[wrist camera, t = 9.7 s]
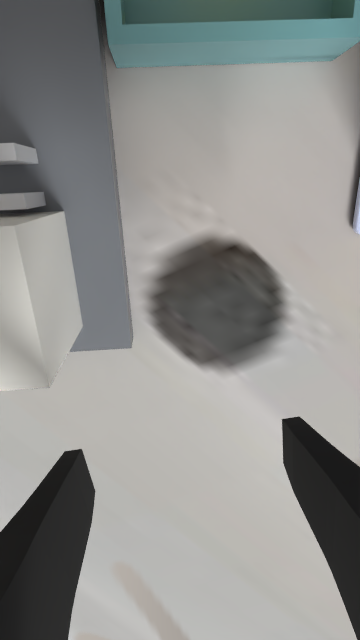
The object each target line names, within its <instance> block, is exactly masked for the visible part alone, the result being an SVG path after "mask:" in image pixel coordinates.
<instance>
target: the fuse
mask: <svg viewBox="0 0 360 640" xmlns="http://www.w3.org/2000/svg"><path fill="white" fill-rule="evenodd" d="M82 327H83V324H82V318H81V312H80V306H79V300H78V293H77V287H76V281H75V275H74V269H73V263H72V256H71V250H70V244H69V238H68V232H67V226H66V219H65V213H64V211H55V212H34V213H13V214H0V391H7V390H22V389H38V388H50V386H51V384H52V383H53V381H54V379H55V377H56V375H57V373H58V371H59V370H60V368H61V366H62V364H63V362H64V360H65V358H66V357H67V355H68V353H69V351H70V349H71V347H72V345H73V344H74V342H75V340H76V338H77V336H78V334H79V332H80V331H81V329H82Z"/></svg>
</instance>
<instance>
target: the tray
mask: <svg viewBox="0 0 360 640" xmlns="http://www.w3.org/2000/svg"><path fill="white" fill-rule="evenodd" d="M104 7H105V17H106V28H107V38H108V46H109V48H110V51H111V54H112V56H113V59H114V62H115V64H116V67H117V68H127V67H158V66H189V65H220V64H250V63H281V62H312V61H333V60H334V59H335V58H337V57H338V56H340V55H341V54H342V53H344V52H345V51H347V50H348V49H350V48H351V47H352V46H354V45H355V44H357V43H358V42H359V41H360V0H104Z"/></svg>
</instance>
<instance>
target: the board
mask: <svg viewBox="0 0 360 640" xmlns="http://www.w3.org/2000/svg"><path fill="white" fill-rule="evenodd" d="M55 211H64V213H65V219H66V226H67V232H68V238H69V244H70V250H71V256H72V263H73V269H74V275H75V281H76V287H77V293H78V300H79V306H80V312H81V318H82V324H83V327H82V329H81V331H80V332H79V334H78V336H77V338H76V340H75V342H74V344H73V345H72V347H71V349H70V351H69V352H75V351H91V350H107V349H124V348H132V342H133V329H132V319H131V309H130V299H129V290H128V280H127V270H126V260H125V251H124V241H123V231H122V221H121V211H120V202H119V192H118V182H117V172H116V163H115V153H114V143H113V133H112V124H111V114H110V104H109V94H108V85H107V75H106V65H105V55H104V45H103V36H102V26H101V16H100V6H99V0H0V214H13V213H34V212H55Z"/></svg>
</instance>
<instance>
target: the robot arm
mask: <svg viewBox="0 0 360 640" xmlns="http://www.w3.org/2000/svg"><path fill="white" fill-rule="evenodd" d="M353 230H354V232H356V233H357V234H360V179H359V186H358V192H357V199H356V206H355V213H354V220H353ZM282 430H283V463H284V466H285V469H286V472H287V475H288V478H289V480H290V483H291V486H292V489H293V491H294V494H295V496H296V498H297V500H298V502H299V504H300V506H301V508H302V510H303V512H304V514H305V517H306V519H307V521H308V523H309V525H310V527H311V529H312V531H313V533H314V535H315V537H316V539H317V541H318V543H319V545H320V547H321V549H322V551H323V554H324V556H325V558H326V560H327V562H328V565H329V567H330V569H331V571H332V574H333V576H334V579H335V581H336V584H337V587H338V589H339V592H340V594H341V597H342V600H343V602H344V605H345V607H346V610H347V613H348V615H349V618H350V621H351V623H352V626H353V629H354V632H355V634H356V637H357V640H360V467H359V466H358V465H356V464H355V463H354V462H352V461H351V460H350V459H349V458H347V457H346V456H345V455H344V454H342V453H341V452H340V451H339V450H337V449H336V448H335V447H334V446H333V445H331V444H330V443H329V442H328V441H327V440H326V439H324V438H323V437H322V436H321V435H320V434H319V433H317V432H316V431H315V430H314V429H313V428H312V427H311V426H310V425H308V424H307V423H306V422H305V421H304V420H303V419H302V418H300V417H294V418H287V419H282ZM94 497H95V489H94V486H93V483H92V480H91V476H90V473H89V470H88V467H87V464H86V461H85V458H84V455H83V451H82V449H78V450H72V451H65V452H64V453H63V455H62V456H61V457H60V458H59V460H58V461H57V462H56V464H55V465H54V466H53V468H52V469H51V470H50V472H49V473H48V474H47V476H46V477H45V478H44V479H43V481H42V482H41V483H40V485H39V486H38V487H37V489H36V490H35V491H34V492H33V494H32V495H31V496H30V497H29V499H28V500H27V501H26V503H25V504H24V505H23V506H22V507H21V509H20V510H19V511H18V512H17V513H16V515H15V516H14V517H13V518H12V519H11V520H10V522H9V523H8V524H7V525H6V526H5V528H4V529H3V530H2V531H1V532H0V640H68V635H69V628H70V621H71V614H72V608H73V603H74V598H75V593H76V588H77V584H78V580H79V575H80V571H81V567H82V562H83V558H84V554H85V550H86V545H87V541H88V536H89V532H90V527H91V523H92V516H93V507H94Z"/></svg>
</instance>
